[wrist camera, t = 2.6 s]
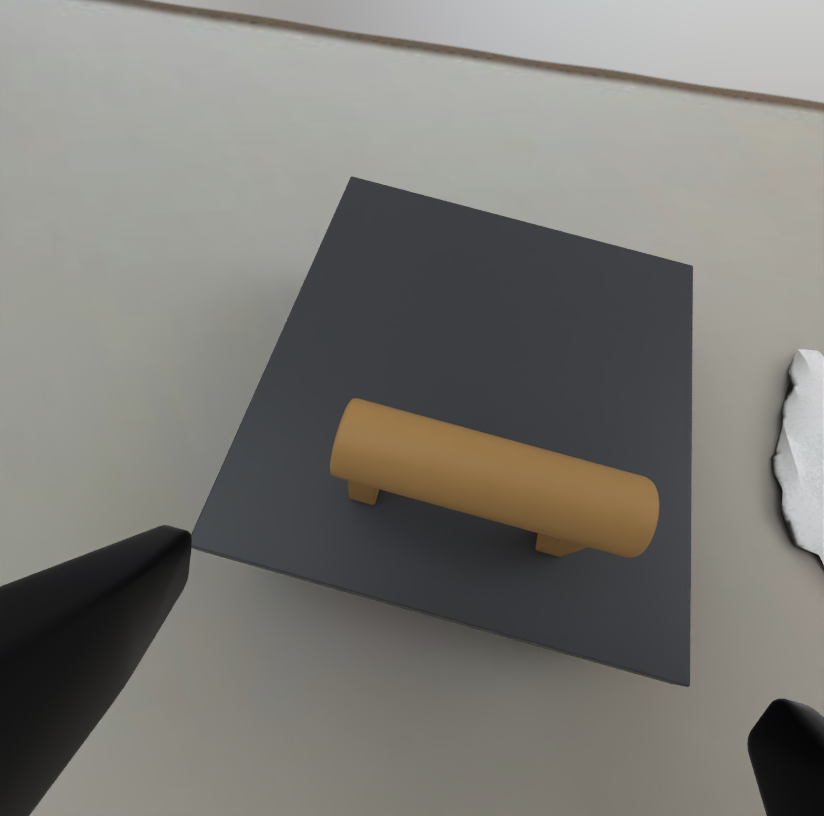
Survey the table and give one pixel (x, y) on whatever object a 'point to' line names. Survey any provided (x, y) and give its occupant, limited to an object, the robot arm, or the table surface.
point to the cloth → (803, 452)
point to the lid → (477, 432)
